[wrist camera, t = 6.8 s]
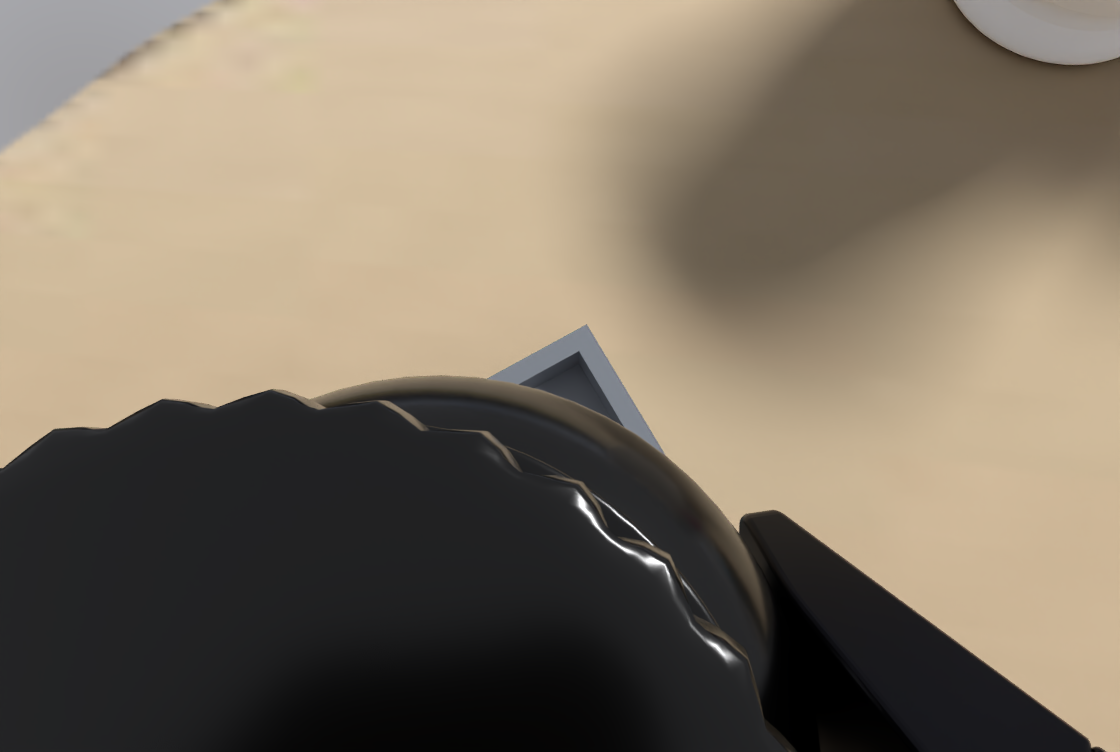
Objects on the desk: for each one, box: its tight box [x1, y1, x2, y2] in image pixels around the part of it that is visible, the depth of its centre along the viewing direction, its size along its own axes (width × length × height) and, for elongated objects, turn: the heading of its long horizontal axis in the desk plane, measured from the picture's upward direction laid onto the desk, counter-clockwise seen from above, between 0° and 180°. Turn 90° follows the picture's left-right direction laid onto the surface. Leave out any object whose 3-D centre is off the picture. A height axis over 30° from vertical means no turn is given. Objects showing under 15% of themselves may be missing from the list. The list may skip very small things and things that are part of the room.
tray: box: [487, 324, 665, 455], centre depth 19 cm, size 12×12×2 cm
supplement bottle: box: [0, 375, 821, 752], centre depth 8 cm, size 7×7×12 cm
